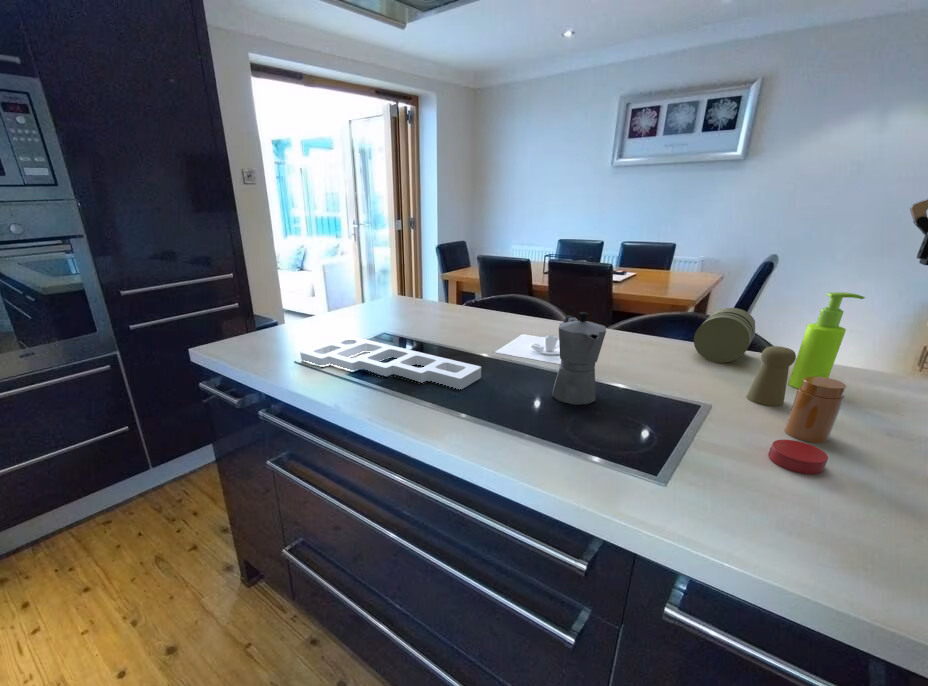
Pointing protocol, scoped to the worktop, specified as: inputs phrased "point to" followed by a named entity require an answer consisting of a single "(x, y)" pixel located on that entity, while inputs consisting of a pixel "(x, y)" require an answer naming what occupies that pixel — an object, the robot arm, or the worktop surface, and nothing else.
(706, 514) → the worktop surface
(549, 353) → the teacup and saucer
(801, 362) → the soap dispenser
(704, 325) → the piston
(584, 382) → the coffeepot
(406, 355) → the holder
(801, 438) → the jam jar
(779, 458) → the jam lid
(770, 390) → the cork
